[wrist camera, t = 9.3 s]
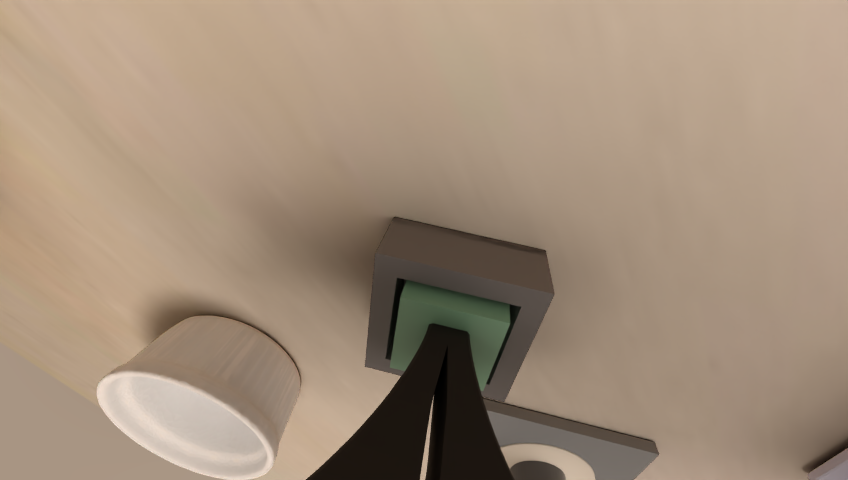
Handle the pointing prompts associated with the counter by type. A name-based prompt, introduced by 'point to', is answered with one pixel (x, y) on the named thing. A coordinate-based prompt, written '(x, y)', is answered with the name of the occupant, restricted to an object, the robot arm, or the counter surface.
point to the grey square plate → (568, 444)
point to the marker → (536, 471)
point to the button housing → (459, 288)
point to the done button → (449, 324)
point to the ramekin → (206, 397)
